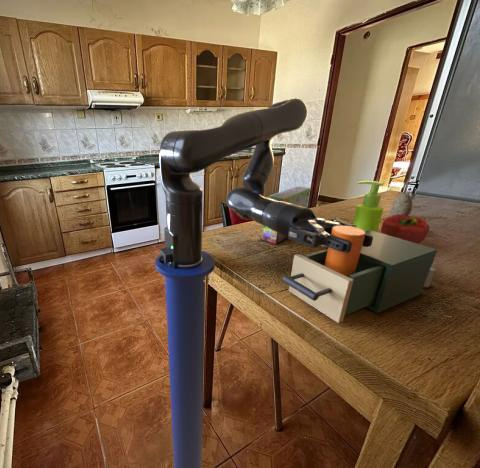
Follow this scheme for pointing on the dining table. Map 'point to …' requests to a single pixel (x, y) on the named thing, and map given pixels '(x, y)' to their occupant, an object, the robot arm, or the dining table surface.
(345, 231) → the spice tin
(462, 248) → the dining table surface
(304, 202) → the snack box
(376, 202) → the soap dispenser
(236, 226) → the dining table surface
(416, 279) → the cabinet
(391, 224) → the vegetable
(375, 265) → the drawer
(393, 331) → the dining table surface
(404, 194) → the decorative egg
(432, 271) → the lighter
